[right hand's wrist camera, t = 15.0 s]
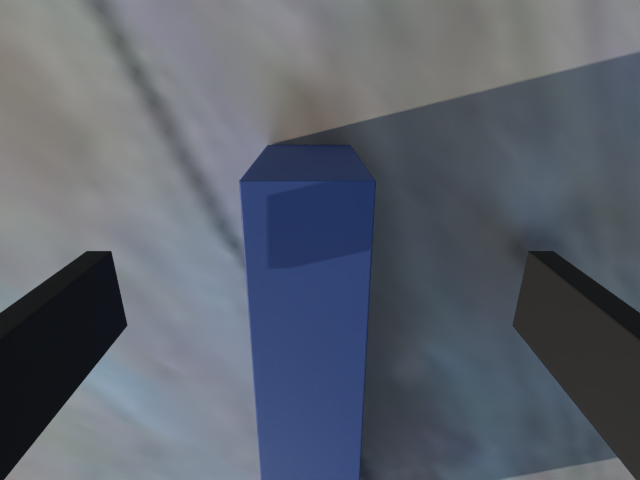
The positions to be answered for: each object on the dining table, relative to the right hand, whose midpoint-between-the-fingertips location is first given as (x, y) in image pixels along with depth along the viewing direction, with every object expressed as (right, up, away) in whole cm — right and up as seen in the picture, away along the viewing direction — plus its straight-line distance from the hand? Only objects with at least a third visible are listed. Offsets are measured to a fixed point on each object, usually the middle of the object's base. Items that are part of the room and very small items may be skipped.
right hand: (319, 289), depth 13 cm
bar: (-1, -7, +14) cm, 16 cm away
